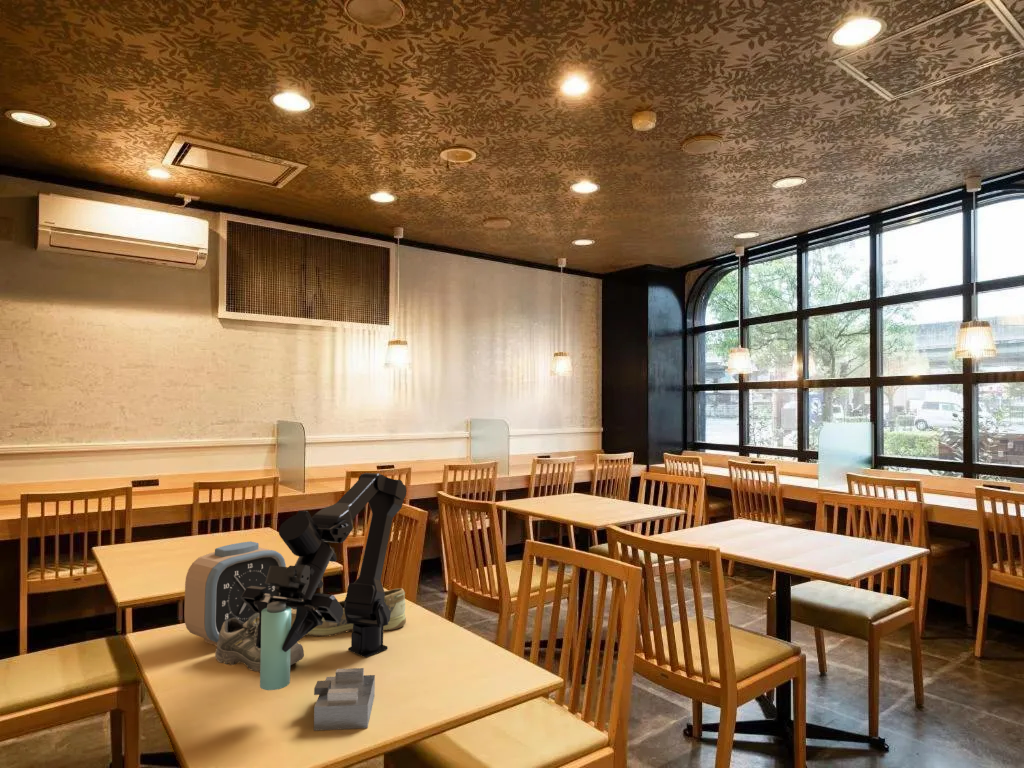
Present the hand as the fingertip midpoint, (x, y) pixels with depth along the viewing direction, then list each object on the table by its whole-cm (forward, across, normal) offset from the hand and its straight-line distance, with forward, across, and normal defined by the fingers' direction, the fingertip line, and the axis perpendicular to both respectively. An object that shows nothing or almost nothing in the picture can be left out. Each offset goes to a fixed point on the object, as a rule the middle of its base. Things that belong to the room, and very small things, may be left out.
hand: (270, 649), depth 111 cm
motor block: (+4, +11, +14) cm, 18 cm away
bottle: (+4, 0, +6) cm, 7 cm away
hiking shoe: (-6, -19, +24) cm, 31 cm away
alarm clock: (-13, -33, +32) cm, 48 cm away
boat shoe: (-22, -12, +41) cm, 49 cm away
